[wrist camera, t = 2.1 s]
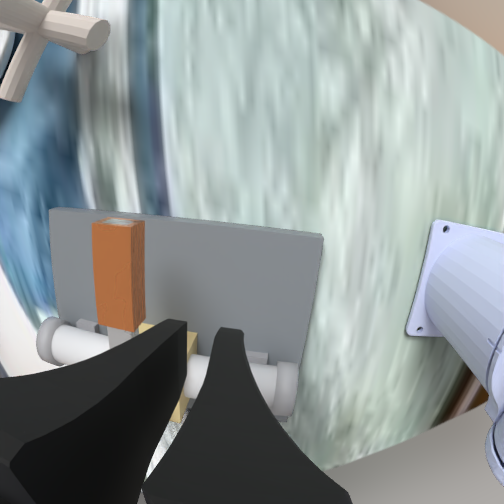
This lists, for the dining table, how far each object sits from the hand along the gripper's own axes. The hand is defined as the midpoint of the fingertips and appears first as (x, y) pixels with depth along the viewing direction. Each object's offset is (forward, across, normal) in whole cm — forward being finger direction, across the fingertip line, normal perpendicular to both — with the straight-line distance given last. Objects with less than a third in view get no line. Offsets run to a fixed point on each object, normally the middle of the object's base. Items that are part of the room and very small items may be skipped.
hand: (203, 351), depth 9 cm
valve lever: (+4, +4, +3) cm, 7 cm away
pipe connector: (+11, +12, -14) cm, 21 cm away
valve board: (+10, +4, +5) cm, 12 cm away
